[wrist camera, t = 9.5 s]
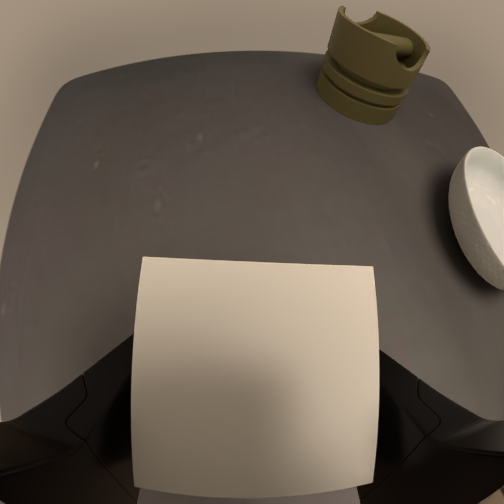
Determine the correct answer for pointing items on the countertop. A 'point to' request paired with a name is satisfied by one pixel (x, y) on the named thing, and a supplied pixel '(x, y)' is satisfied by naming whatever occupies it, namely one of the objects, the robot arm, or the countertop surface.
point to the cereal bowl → (480, 212)
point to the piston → (370, 67)
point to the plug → (254, 378)
